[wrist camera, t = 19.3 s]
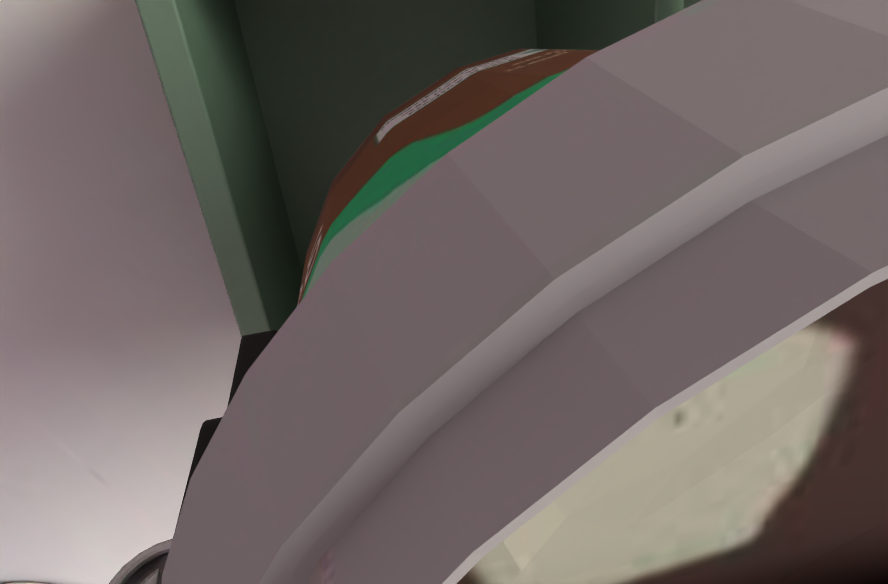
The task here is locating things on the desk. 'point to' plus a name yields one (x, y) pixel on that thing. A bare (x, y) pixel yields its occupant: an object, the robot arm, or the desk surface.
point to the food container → (585, 327)
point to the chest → (323, 103)
